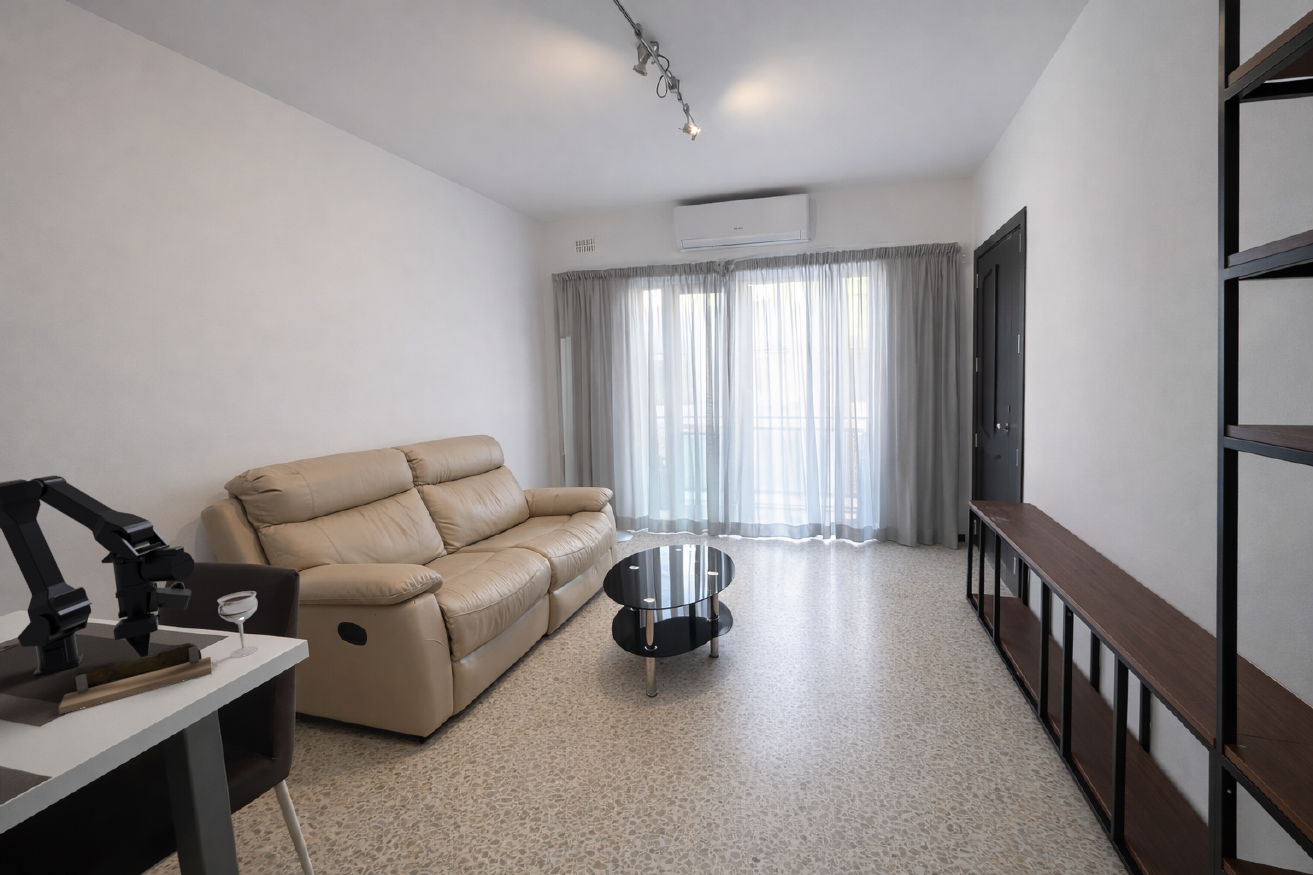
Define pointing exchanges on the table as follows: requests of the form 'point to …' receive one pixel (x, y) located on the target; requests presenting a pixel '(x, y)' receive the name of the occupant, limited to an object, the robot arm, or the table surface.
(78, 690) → the tool rack
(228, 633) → the table surface
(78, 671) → the hand tool
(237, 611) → the wineglass
